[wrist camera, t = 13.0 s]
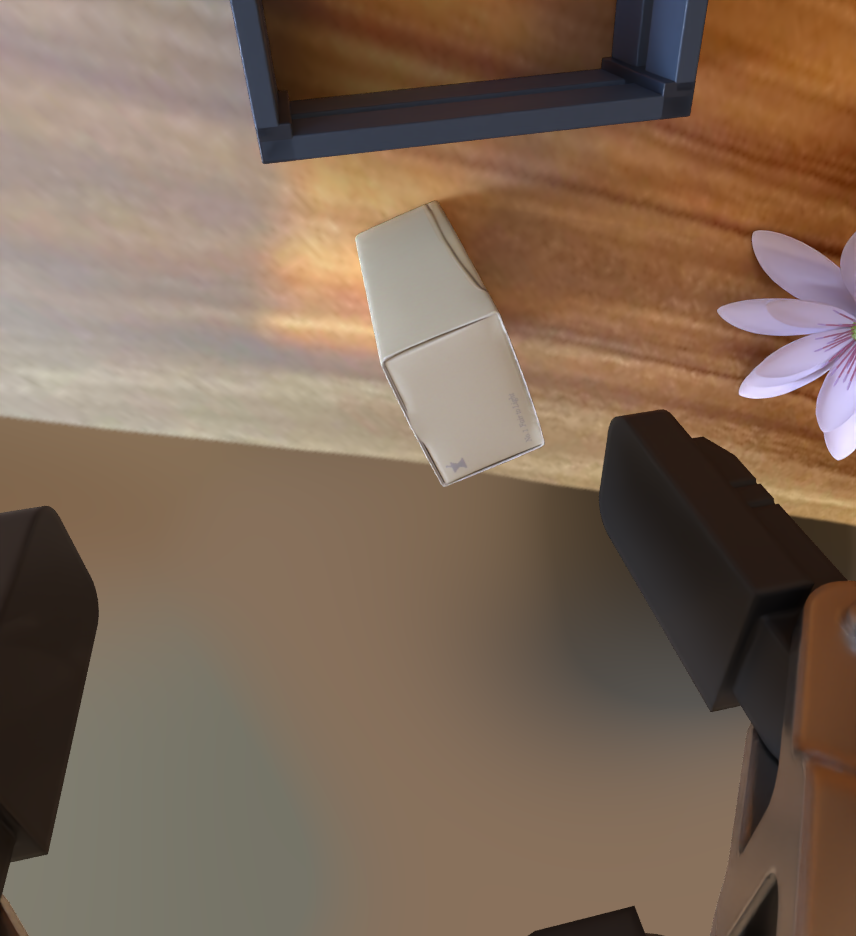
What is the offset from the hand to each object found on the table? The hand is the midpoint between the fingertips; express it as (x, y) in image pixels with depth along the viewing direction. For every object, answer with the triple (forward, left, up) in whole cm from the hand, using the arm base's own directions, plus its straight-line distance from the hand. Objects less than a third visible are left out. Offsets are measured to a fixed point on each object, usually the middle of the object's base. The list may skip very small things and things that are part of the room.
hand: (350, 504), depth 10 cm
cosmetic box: (+4, -7, -24) cm, 25 cm away
